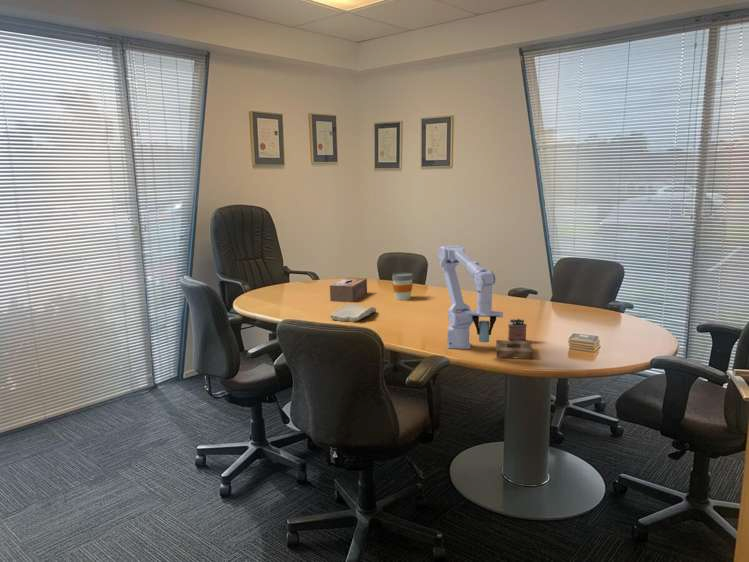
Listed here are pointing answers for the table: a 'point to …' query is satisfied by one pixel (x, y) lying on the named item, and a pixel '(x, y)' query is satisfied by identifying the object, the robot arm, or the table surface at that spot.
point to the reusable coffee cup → (402, 285)
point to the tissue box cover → (348, 289)
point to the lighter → (517, 330)
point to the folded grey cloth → (351, 313)
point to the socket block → (514, 349)
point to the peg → (484, 331)
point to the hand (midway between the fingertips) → (484, 334)
